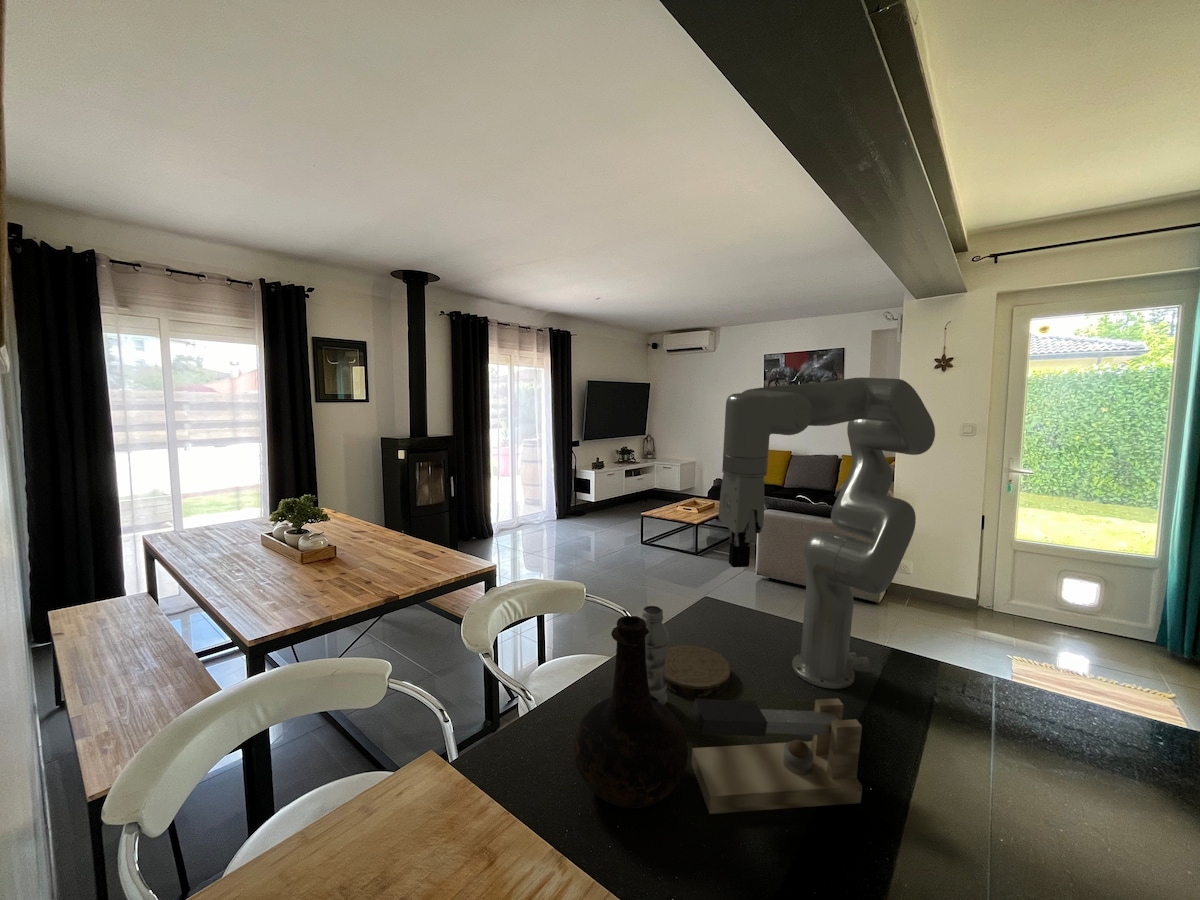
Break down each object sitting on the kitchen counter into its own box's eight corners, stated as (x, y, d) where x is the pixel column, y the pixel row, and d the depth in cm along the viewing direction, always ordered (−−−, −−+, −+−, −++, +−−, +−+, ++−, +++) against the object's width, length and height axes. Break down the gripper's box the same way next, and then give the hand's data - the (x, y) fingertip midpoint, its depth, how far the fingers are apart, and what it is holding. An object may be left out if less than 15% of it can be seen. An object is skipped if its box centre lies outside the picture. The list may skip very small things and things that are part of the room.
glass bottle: (697, 762, 90) (705, 607, 85) (666, 849, 74) (674, 664, 69) (601, 731, 97) (604, 587, 92) (554, 804, 81) (554, 634, 76)
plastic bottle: (666, 717, 101) (669, 619, 97) (630, 712, 102) (633, 615, 99) (668, 697, 107) (672, 604, 104) (635, 692, 108) (637, 600, 105)
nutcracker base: (827, 755, 92) (833, 692, 90) (860, 803, 82) (868, 733, 80) (691, 764, 89) (694, 699, 87) (709, 813, 79) (713, 742, 77)
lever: (826, 723, 88) (830, 704, 87) (843, 744, 83) (847, 725, 82) (692, 718, 85) (695, 698, 84) (700, 740, 80) (704, 719, 80)
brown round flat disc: (686, 709, 104) (686, 695, 103) (641, 668, 118) (641, 655, 117) (746, 686, 112) (746, 673, 111) (697, 650, 125) (697, 638, 125)
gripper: (710, 457, 99) (706, 551, 102) (739, 474, 84) (732, 583, 87) (749, 457, 100) (743, 550, 103) (784, 474, 85) (776, 582, 88)
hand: (738, 565), depth 95 cm, fingers closed
